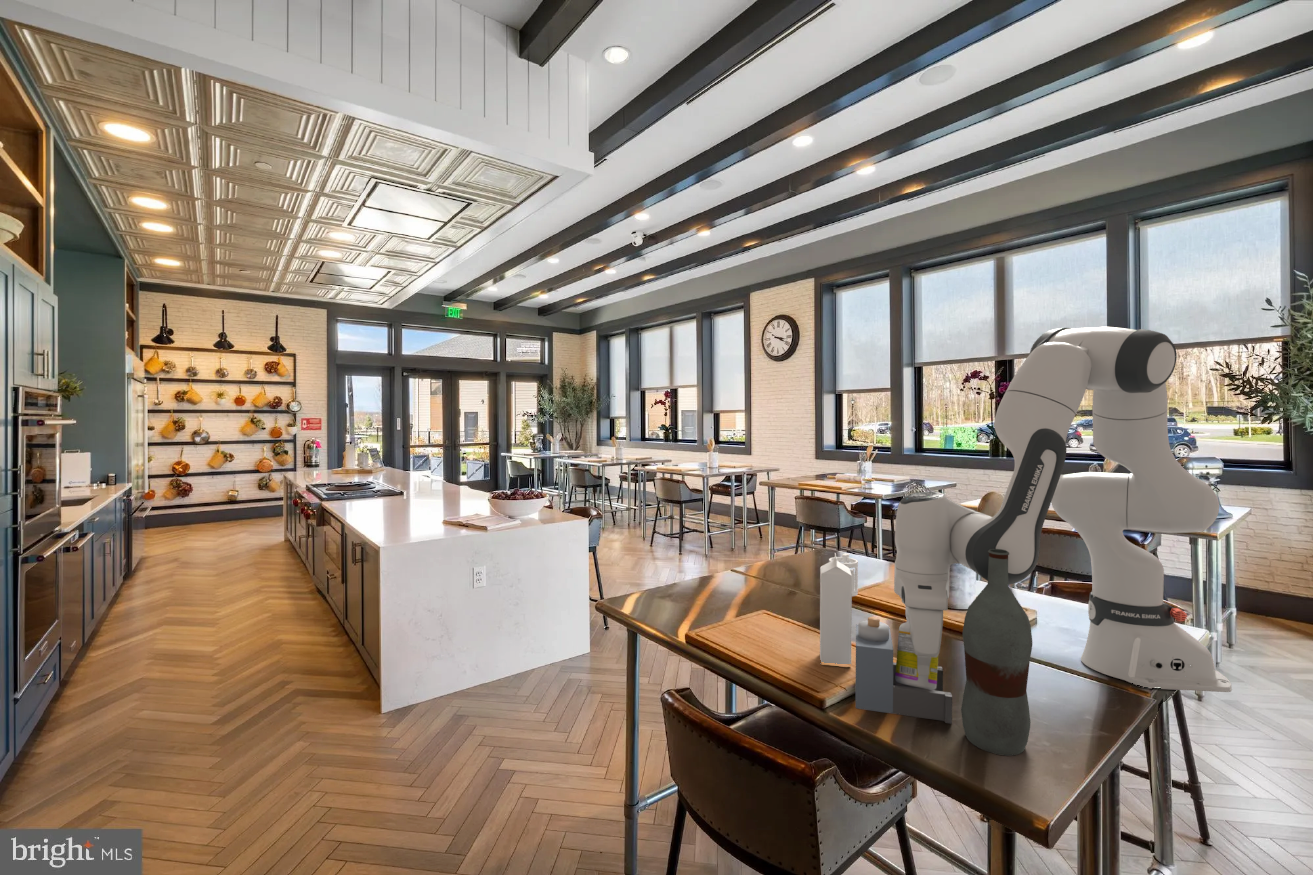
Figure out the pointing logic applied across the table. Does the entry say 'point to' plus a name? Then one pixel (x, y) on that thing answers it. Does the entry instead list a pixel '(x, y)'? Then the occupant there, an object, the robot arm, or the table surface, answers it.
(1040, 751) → the table surface
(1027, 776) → the table surface
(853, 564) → the white container
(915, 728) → the table surface
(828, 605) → the milk
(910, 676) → the supplement bottle
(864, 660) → the grey bottle caddy
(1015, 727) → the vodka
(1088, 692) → the table surface
